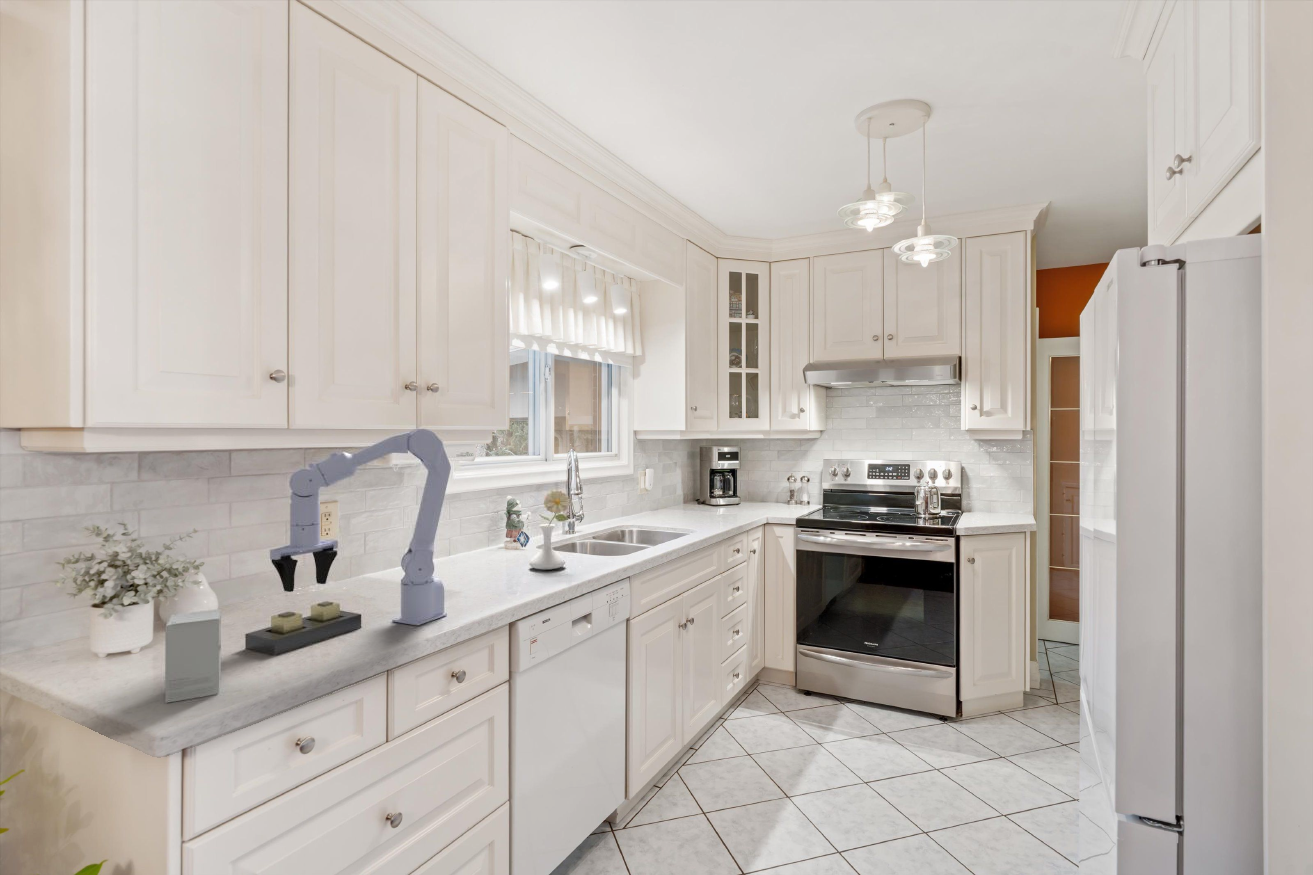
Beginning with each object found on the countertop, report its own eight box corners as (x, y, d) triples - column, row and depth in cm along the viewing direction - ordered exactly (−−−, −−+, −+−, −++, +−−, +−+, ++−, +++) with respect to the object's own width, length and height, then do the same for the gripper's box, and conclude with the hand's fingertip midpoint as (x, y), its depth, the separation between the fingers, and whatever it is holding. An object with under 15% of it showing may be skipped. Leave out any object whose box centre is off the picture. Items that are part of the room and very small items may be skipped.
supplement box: (219, 694, 107) (219, 618, 107) (163, 704, 104) (163, 625, 103) (222, 679, 114) (221, 607, 114) (169, 688, 110) (169, 613, 110)
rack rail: (333, 622, 148) (333, 609, 148) (361, 627, 144) (361, 614, 144) (245, 648, 130) (245, 633, 130) (274, 655, 126) (274, 640, 126)
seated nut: (327, 628, 144) (327, 599, 144) (339, 630, 142) (339, 601, 142) (310, 633, 140) (310, 604, 140) (323, 635, 138) (323, 606, 138)
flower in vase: (524, 571, 202) (524, 491, 201) (535, 564, 213) (535, 488, 213) (565, 572, 200) (565, 491, 200) (574, 565, 211) (574, 488, 211)
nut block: (289, 640, 136) (289, 609, 135) (302, 642, 134) (302, 612, 134) (271, 645, 132) (271, 614, 132) (283, 648, 130) (283, 617, 130)
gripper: (322, 519, 148) (322, 578, 148) (260, 527, 135) (260, 592, 135) (344, 520, 145) (344, 581, 145) (282, 529, 132) (282, 596, 132)
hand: (305, 587), depth 140 cm, fingers open, 7 cm apart
